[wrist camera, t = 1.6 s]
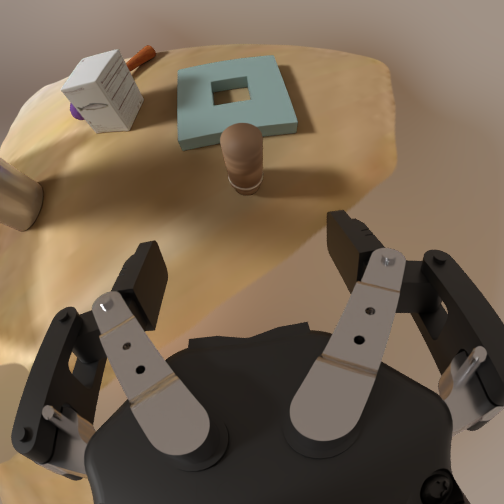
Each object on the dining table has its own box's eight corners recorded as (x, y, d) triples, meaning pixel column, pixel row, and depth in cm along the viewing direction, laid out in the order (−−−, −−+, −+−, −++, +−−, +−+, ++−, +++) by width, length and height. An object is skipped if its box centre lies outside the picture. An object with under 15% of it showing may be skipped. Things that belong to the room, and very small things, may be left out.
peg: (233, 201, 33) (221, 160, 23) (228, 172, 34) (217, 126, 24) (265, 195, 33) (266, 153, 23) (260, 167, 34) (259, 119, 24)
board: (182, 150, 35) (177, 141, 33) (181, 80, 38) (177, 70, 36) (296, 132, 35) (297, 122, 33) (273, 65, 38) (273, 55, 36)
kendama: (159, 44, 37) (76, 112, 32) (161, 65, 42) (87, 130, 38) (139, 37, 36) (60, 101, 32) (142, 57, 42) (71, 119, 38)
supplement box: (95, 134, 37) (58, 90, 24) (112, 102, 38) (82, 56, 26) (130, 132, 36) (94, 81, 24) (146, 99, 38) (119, 47, 25)
